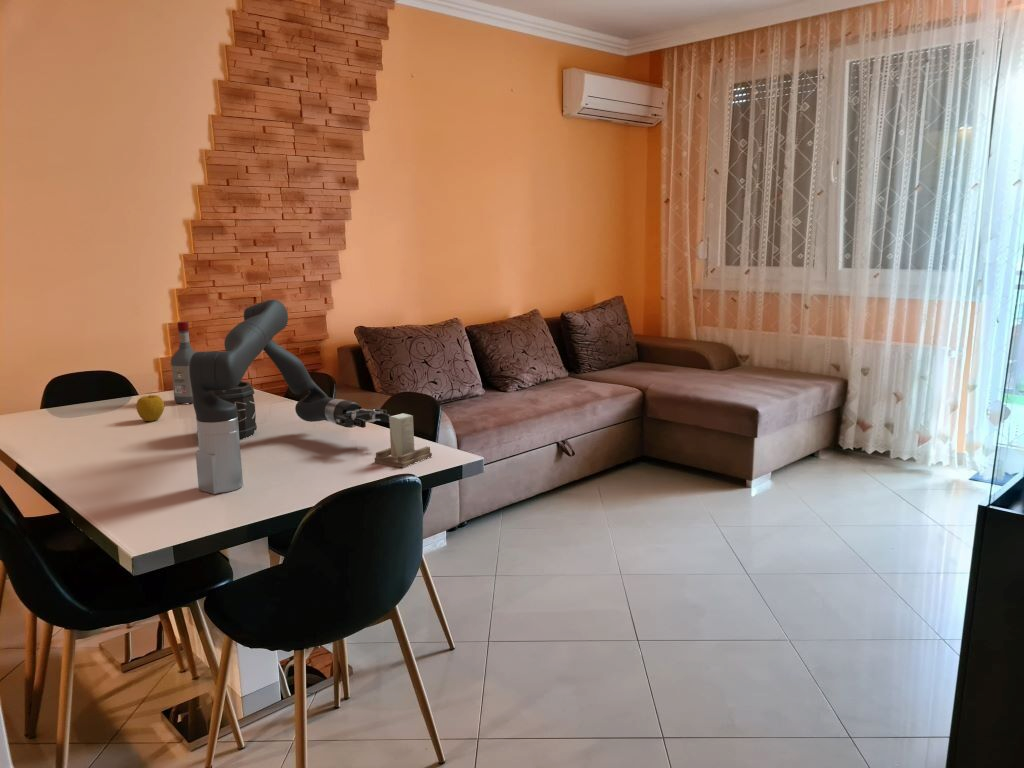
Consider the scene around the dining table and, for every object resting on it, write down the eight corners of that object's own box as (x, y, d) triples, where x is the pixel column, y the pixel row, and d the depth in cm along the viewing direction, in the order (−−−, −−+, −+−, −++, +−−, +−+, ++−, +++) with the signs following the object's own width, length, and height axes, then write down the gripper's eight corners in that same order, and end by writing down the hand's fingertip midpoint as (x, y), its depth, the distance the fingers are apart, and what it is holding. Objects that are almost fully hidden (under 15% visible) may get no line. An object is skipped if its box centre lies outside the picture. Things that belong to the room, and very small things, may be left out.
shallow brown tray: (403, 468, 195) (402, 457, 195) (374, 462, 201) (374, 452, 200) (431, 457, 205) (431, 447, 205) (404, 451, 211) (403, 442, 210)
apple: (155, 424, 245) (152, 398, 244) (131, 423, 247) (128, 397, 245) (170, 418, 254) (168, 393, 252) (148, 417, 255) (145, 392, 253)
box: (404, 451, 206) (403, 412, 204) (415, 454, 203) (414, 415, 201) (390, 455, 202) (388, 416, 200) (400, 458, 199) (398, 418, 197)
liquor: (192, 404, 275) (185, 323, 270) (171, 403, 277) (163, 323, 272) (208, 399, 284) (201, 321, 279) (187, 398, 286) (180, 320, 281)
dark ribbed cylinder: (207, 446, 218) (203, 393, 215) (189, 434, 232) (184, 385, 229) (267, 436, 229) (264, 386, 226) (246, 425, 243) (243, 378, 240)
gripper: (321, 404, 214) (355, 412, 203) (362, 396, 224) (396, 404, 213) (323, 429, 215) (356, 439, 204) (363, 421, 225) (397, 429, 214)
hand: (377, 421), depth 209 cm, fingers open, 8 cm apart
